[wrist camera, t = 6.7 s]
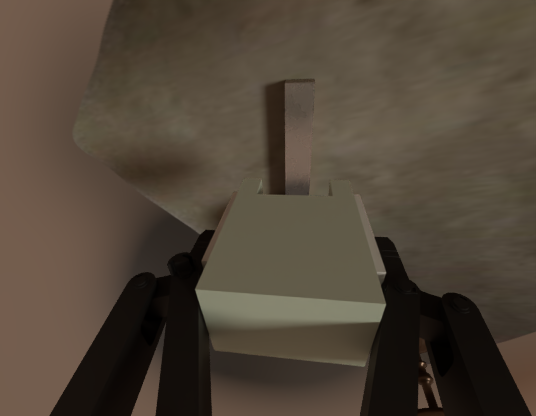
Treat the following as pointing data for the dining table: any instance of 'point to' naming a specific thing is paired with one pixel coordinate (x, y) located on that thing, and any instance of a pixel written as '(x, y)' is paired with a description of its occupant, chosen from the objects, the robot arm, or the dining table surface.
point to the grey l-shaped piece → (298, 134)
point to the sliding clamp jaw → (292, 278)
